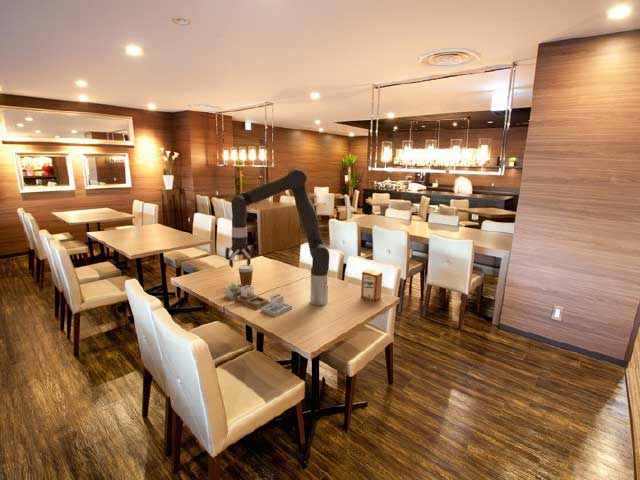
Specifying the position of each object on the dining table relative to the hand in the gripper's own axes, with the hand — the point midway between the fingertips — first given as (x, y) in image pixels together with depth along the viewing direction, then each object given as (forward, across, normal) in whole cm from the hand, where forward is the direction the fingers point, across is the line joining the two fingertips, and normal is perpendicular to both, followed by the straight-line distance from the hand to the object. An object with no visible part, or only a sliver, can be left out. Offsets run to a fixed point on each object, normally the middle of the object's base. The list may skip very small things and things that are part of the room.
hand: (240, 266), depth 168 cm
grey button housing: (+24, -1, -17) cm, 29 cm away
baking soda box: (+23, -73, +17) cm, 78 cm away
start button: (+20, -1, -17) cm, 26 cm away
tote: (+24, -17, +10) cm, 30 cm away
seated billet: (+23, -6, -9) cm, 25 cm away
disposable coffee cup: (+24, -12, -34) cm, 43 cm away
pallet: (+24, -8, -5) cm, 25 cm away
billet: (+23, -17, +10) cm, 30 cm away
